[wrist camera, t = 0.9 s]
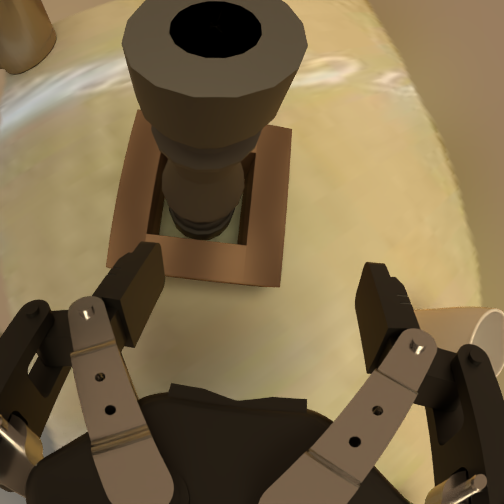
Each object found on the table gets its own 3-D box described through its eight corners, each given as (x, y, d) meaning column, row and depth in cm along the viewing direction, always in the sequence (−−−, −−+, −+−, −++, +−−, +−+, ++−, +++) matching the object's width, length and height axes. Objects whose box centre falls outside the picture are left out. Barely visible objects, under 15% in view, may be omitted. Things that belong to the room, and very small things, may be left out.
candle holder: (209, 170, 33) (239, -38, 8) (243, 217, 33) (353, 60, 8) (159, 203, 32) (85, 21, 7) (194, 252, 32) (180, 149, 7)
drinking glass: (423, 308, 36) (517, 313, 21) (411, 361, 35) (501, 386, 20) (382, 298, 35) (477, 301, 20) (368, 355, 34) (458, 386, 19)
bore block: (125, 271, 30) (106, 267, 24) (147, 141, 32) (137, 109, 25) (262, 286, 33) (279, 287, 26) (274, 157, 34) (292, 129, 27)
